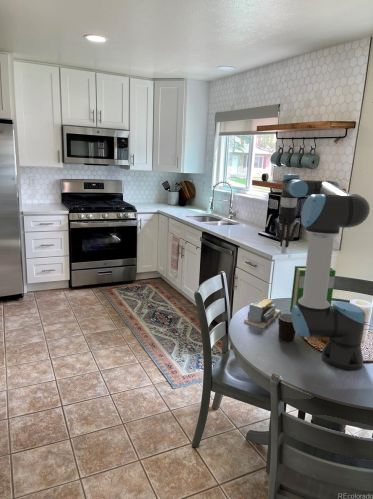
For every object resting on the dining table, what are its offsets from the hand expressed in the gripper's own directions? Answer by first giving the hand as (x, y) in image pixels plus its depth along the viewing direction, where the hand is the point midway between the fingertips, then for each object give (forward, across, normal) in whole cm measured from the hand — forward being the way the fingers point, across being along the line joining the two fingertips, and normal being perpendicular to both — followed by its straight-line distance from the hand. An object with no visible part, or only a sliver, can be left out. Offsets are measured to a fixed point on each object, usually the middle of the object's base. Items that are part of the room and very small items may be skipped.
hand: (283, 253), depth 193 cm
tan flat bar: (+24, +2, +8) cm, 25 cm away
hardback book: (+30, -15, -5) cm, 34 cm away
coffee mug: (+31, -15, +28) cm, 44 cm away
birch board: (+30, +2, +15) cm, 34 cm away
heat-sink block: (+29, +2, +16) cm, 33 cm away
